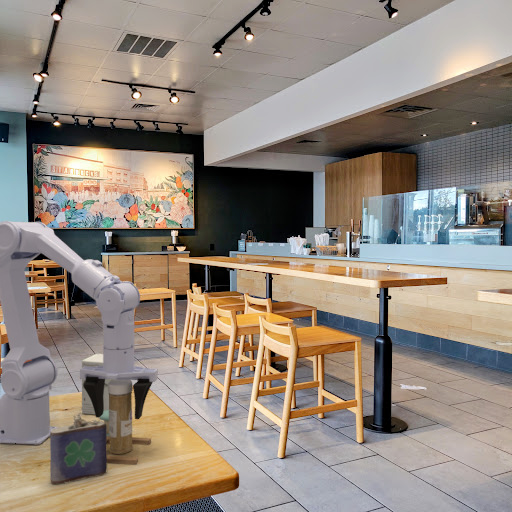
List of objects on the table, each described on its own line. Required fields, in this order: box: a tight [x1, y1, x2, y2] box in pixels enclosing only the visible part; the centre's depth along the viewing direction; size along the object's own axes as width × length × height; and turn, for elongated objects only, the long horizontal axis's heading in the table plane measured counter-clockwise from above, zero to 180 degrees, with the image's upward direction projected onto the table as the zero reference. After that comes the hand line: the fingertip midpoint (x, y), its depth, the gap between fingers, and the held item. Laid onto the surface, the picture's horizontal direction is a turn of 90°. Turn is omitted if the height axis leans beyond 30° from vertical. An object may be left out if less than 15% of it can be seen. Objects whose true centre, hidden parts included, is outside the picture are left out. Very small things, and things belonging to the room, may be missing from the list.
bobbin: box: [99, 410, 110, 436], centre depth 103 cm, size 5×5×4 cm
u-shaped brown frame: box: [106, 436, 152, 465], centre depth 96 cm, size 10×10×1 cm
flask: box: [49, 413, 108, 485], centre depth 86 cm, size 9×3×11 cm, turn 117°
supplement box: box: [81, 353, 116, 415], centre depth 117 cm, size 7×7×13 cm
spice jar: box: [108, 379, 134, 455], centre depth 96 cm, size 5×5×13 cm
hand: (118, 416), depth 95 cm, fingers open, 7 cm apart
